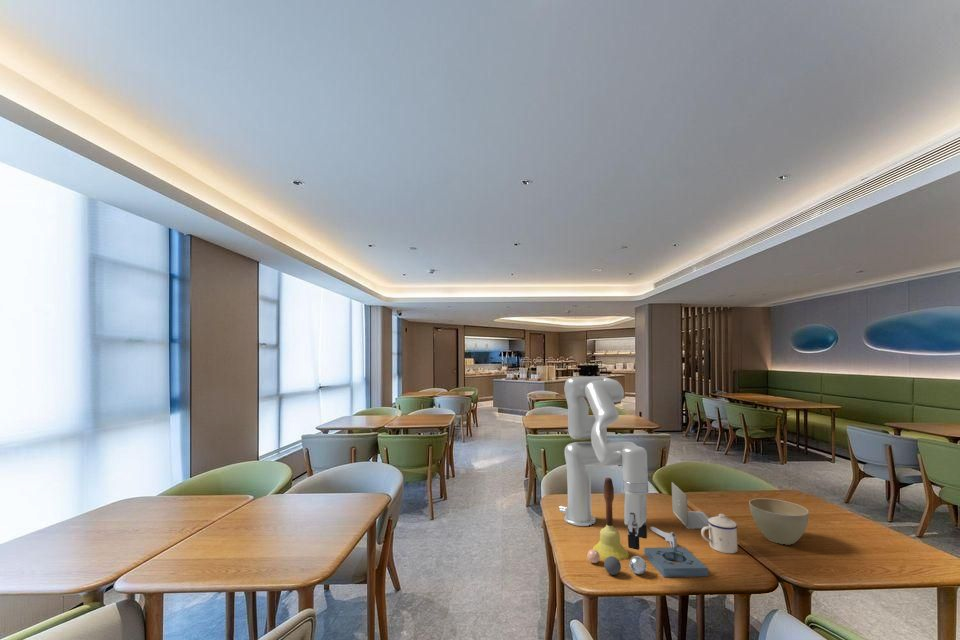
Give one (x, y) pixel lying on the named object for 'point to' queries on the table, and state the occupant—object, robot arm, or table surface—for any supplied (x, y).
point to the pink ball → (593, 556)
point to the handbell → (610, 530)
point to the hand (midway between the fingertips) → (637, 542)
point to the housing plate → (672, 569)
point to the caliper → (666, 536)
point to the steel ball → (637, 565)
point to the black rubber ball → (612, 565)
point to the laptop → (680, 510)
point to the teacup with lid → (721, 534)
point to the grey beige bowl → (779, 519)
